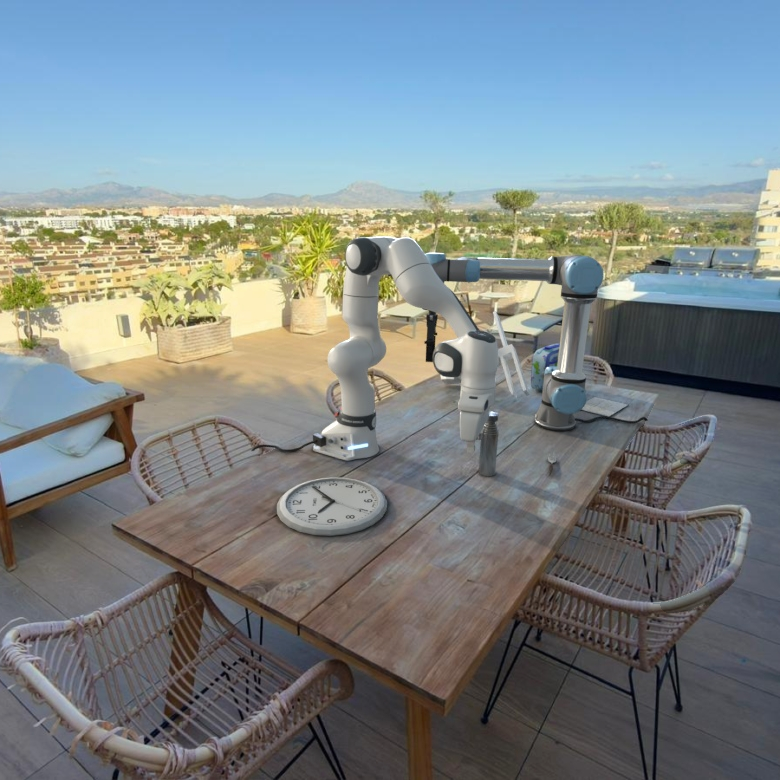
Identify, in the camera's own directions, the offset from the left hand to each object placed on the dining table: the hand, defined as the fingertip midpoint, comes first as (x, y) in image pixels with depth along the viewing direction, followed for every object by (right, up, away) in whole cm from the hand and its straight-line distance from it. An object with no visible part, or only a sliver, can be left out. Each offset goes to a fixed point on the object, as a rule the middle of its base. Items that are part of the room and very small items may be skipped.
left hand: (474, 445), depth 137 cm
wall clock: (-38, -17, +5) cm, 42 cm away
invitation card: (+69, +7, +89) cm, 113 cm away
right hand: (-8, +26, +52) cm, 59 cm away
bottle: (+8, -11, +26) cm, 30 cm away
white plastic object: (+19, +13, +106) cm, 108 cm away
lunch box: (+55, +15, +114) cm, 128 cm away
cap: (+8, +7, +20) cm, 23 cm away
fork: (+30, -10, +31) cm, 44 cm away
